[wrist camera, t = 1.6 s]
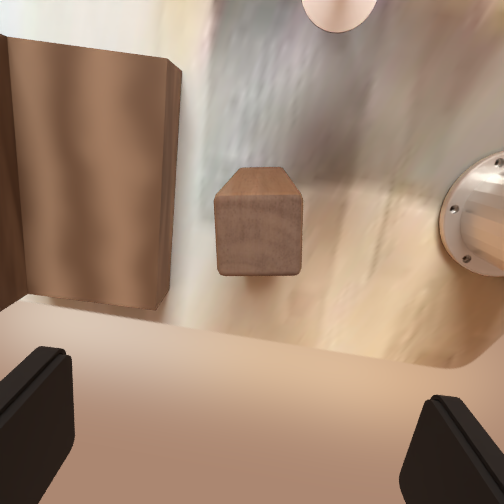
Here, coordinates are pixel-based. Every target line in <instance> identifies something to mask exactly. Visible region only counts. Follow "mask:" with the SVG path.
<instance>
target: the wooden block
mask: <svg viewBox="0 0 504 504" xmlns="http://www.w3.org/2000/svg"><path fill="white" fill-rule="evenodd" d="M214 215H215V233H216V252H217V269H218V271H219V273H220V275H223V276H294V275H297V274H299V272H300V270H301V262H302V224H303V198H302V195H301V193H300V192H299V190H298V189H297V187H296V186H295V185H294V183H293V182H292V180H291V179H290V178H289V176H288V175H287V173H286V172H285V171H284V169H283V168H281V167H250V168H240V169H239V170H238V171H237V172H236V173H235V174H234V175H233V176H232V177H231V179H230V180H229V181H228V182H227V183H226V184H225V185H224V186H223V187H222V189H221V190H220V191H219V192H218V193H217V194H216V196H215V199H214Z"/></svg>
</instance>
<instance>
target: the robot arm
mask: <svg viewBox="0 0 504 504" xmlns="http://www.w3.org/2000/svg"><path fill="white" fill-rule="evenodd" d="M495 161H496V163H495ZM451 206H452V209H451V210H450V208H451ZM439 227H440V235H441V239H442V243H443V245H444V247H445V249H446V251H447V252H448V254H449V255H450V256H451V257H452V258H453V259H454V260H455V261H456V262H457V263H459V264H460V265H461V266H463V267H464V268H466V269H468V270H470V271H471V272H474V273H477V274H480V275H485V276H492V277H498V276H504V151H502V152H498V153H494V154H492V155H490V156H487V157H485V158H483V159H481V160H480V161H478V162H476V163H475V164H473V165H472V166H470V167H469V168H468V169H467V170H466V171H465V172H464V173H463V174H462V175H460V177H459V178H458V179H457V180H456V182H455V183H454V184H453V185H452V187H451V188H450V190H449V192H448V194H447V195H446V197H445V200H444V203H443V205H442V208H441V213H440V220H439ZM74 438H75V428H74V403H73V378H72V359H71V356H69V355H66V352H65V350H64V349H61V348H52V347H45V346H40V347H38V348H36V349H35V350H34V351H33V352H32V353H31V354H30V355H29V356H27V357H26V358H25V359H24V360H23V361H22V362H21V363H20V364H19V365H18V366H17V367H16V368H14V369H13V370H12V371H11V372H10V373H9V374H8V375H7V376H6V377H5V378H4V379H3V380H2V381H0V504H38V503H39V501H40V500H41V498H42V496H43V494H44V493H45V492H46V490H47V488H48V487H49V485H50V483H51V482H52V480H53V478H54V477H55V475H56V474H57V472H58V470H59V469H60V467H61V465H62V464H63V462H64V460H65V459H66V457H67V455H68V454H69V452H70V450H71V448H72V446H73V442H74ZM399 484H400V489H401V492H402V495H403V497H404V500H405V502H406V504H504V454H503V453H502V452H501V450H500V449H499V448H498V446H497V445H496V444H495V443H494V441H493V440H492V439H491V437H490V436H489V435H488V434H487V432H486V431H485V430H484V429H483V427H482V426H481V425H480V423H479V422H478V421H477V419H476V418H475V417H474V416H473V414H472V413H471V412H470V410H469V409H468V408H467V407H466V405H465V404H464V403H463V401H462V400H460V398H457V397H451V396H442V395H433V396H432V397H431V399H430V400H427V401H425V403H424V405H423V408H422V411H421V414H420V417H419V420H418V423H417V426H416V429H415V431H414V434H413V437H412V440H411V443H410V446H409V449H408V452H407V455H406V458H405V460H404V463H403V466H402V469H401V472H400V476H399Z"/></svg>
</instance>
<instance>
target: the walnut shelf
mask: <svg viewBox="0 0 504 504" xmlns="http://www.w3.org/2000/svg"><path fill="white" fill-rule="evenodd" d="M181 77H182V71H181V70H180V69H179V68H178V67H177V66H175V65H174V64H173V63H172V62H171V61H170V60H168V59H167V58H160V57H152V56H145V55H138V54H130V53H123V52H115V51H108V50H101V49H93V48H86V47H79V46H71V45H64V44H57V43H49V42H42V41H35V40H27V39H20V38H13V37H6V36H4V35H2V34H0V312H1V311H2V310H3V309H5V308H7V307H8V306H9V305H11V304H13V303H14V302H16V301H18V300H19V299H21V298H22V297H24V296H25V295H27V294H34V295H41V296H49V297H57V298H64V299H72V300H80V301H88V302H95V303H103V304H111V305H118V306H126V307H134V308H141V309H149V310H156V309H157V308H158V306H159V305H160V303H161V301H162V300H163V298H164V297H165V295H166V294H167V292H168V290H169V284H170V267H171V249H172V232H173V215H174V198H175V180H176V163H177V146H178V129H179V111H180V94H181Z"/></svg>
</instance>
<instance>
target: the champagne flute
mask: <svg viewBox="0 0 504 504" xmlns="http://www.w3.org/2000/svg"><path fill="white" fill-rule="evenodd" d="M376 1H377V0H302V3H303V7H304V9H305V11H306V14H307V15H308V17H309V18H310V20H311V21H312V22H313V23H314V24H315V25H316V26H318V27H320V28H321V29H323V30H326V31H329V32H337V33H339V32H345V31H348V30H351V29H353V28H355V27H356V26H358V25H360V24H361V23H362V22H363V21H364V20H365V19H366V18H367V17H368V15H369V14H370V13H371V11H372V10H373V8H374V6H375V4H376Z"/></svg>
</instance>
